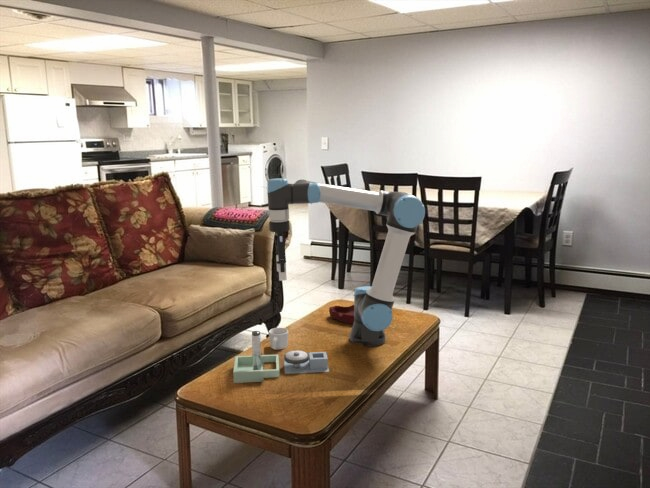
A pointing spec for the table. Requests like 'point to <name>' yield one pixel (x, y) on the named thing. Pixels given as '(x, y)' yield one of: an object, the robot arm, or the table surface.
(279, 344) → the cup
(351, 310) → the ashtray
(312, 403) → the table surface
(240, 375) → the tray
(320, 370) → the block
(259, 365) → the dark capped cylinder
